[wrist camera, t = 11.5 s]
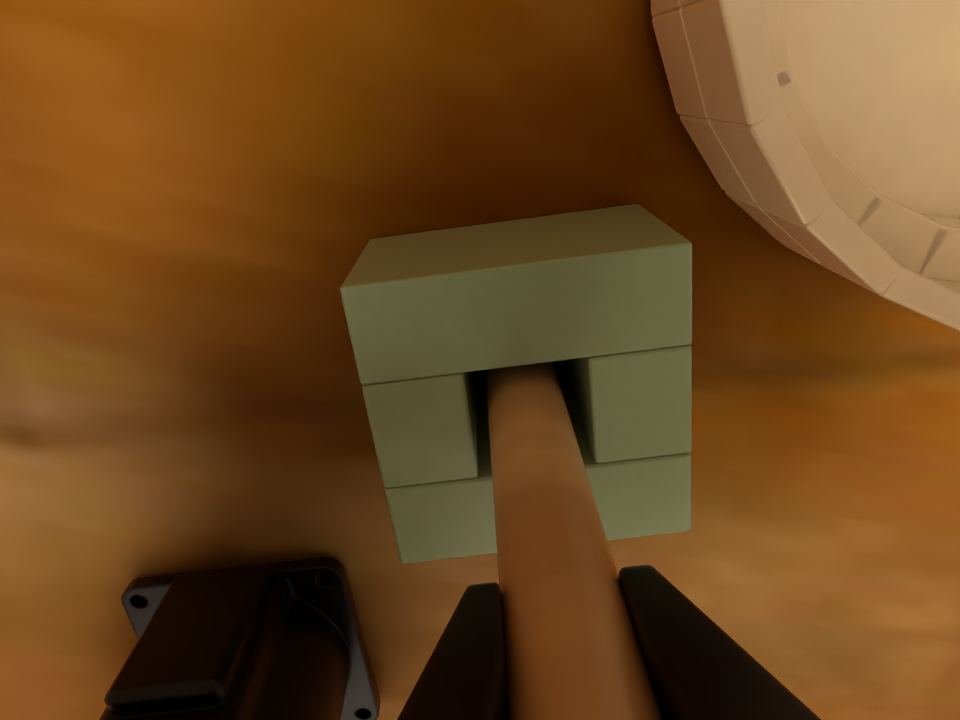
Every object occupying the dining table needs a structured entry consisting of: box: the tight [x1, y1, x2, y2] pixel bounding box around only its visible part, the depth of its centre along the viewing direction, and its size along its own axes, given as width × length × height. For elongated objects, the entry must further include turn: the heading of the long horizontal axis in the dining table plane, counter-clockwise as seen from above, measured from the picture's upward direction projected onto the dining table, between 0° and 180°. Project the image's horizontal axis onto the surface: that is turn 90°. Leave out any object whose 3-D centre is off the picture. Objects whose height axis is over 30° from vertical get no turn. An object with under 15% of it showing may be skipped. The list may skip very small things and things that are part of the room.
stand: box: [340, 204, 692, 564], centre depth 15 cm, size 6×6×4 cm
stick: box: [486, 362, 663, 720], centre depth 10 cm, size 2×2×11 cm
